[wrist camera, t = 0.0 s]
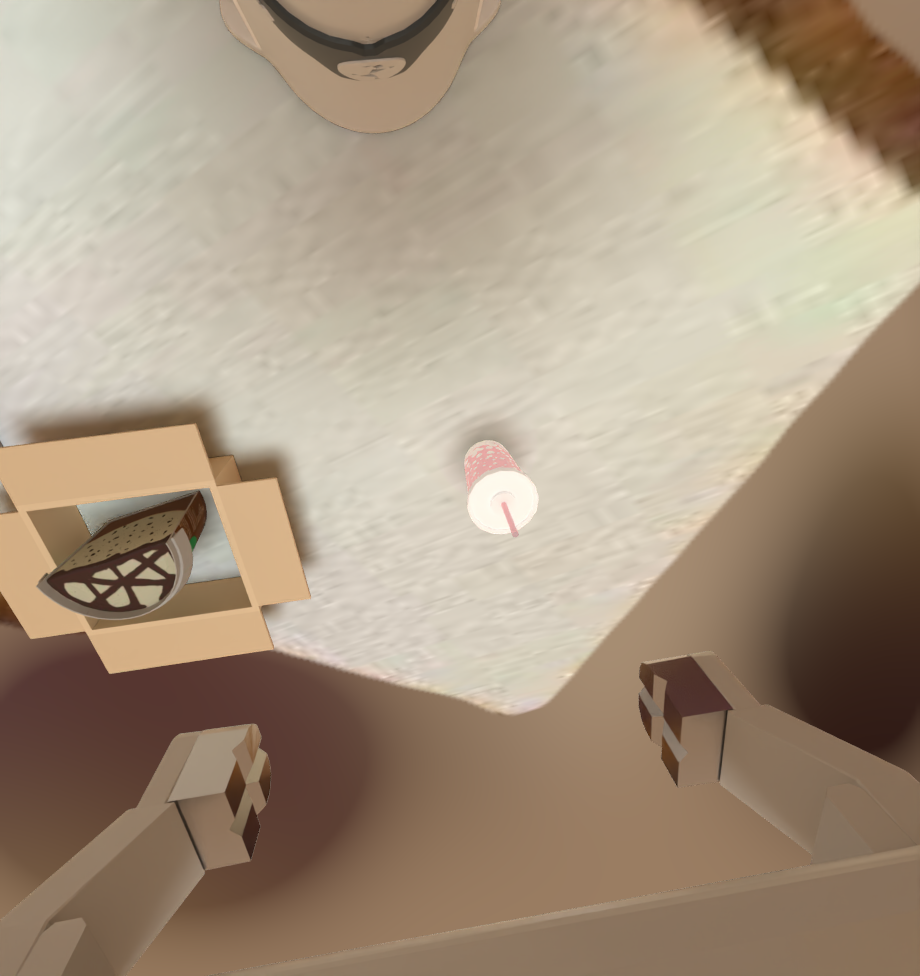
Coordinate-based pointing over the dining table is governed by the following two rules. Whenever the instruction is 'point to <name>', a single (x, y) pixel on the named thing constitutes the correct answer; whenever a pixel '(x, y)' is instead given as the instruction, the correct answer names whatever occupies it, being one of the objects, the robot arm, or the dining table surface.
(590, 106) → the dining table surface
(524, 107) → the dining table surface
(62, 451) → the carton
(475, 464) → the beverage cup
